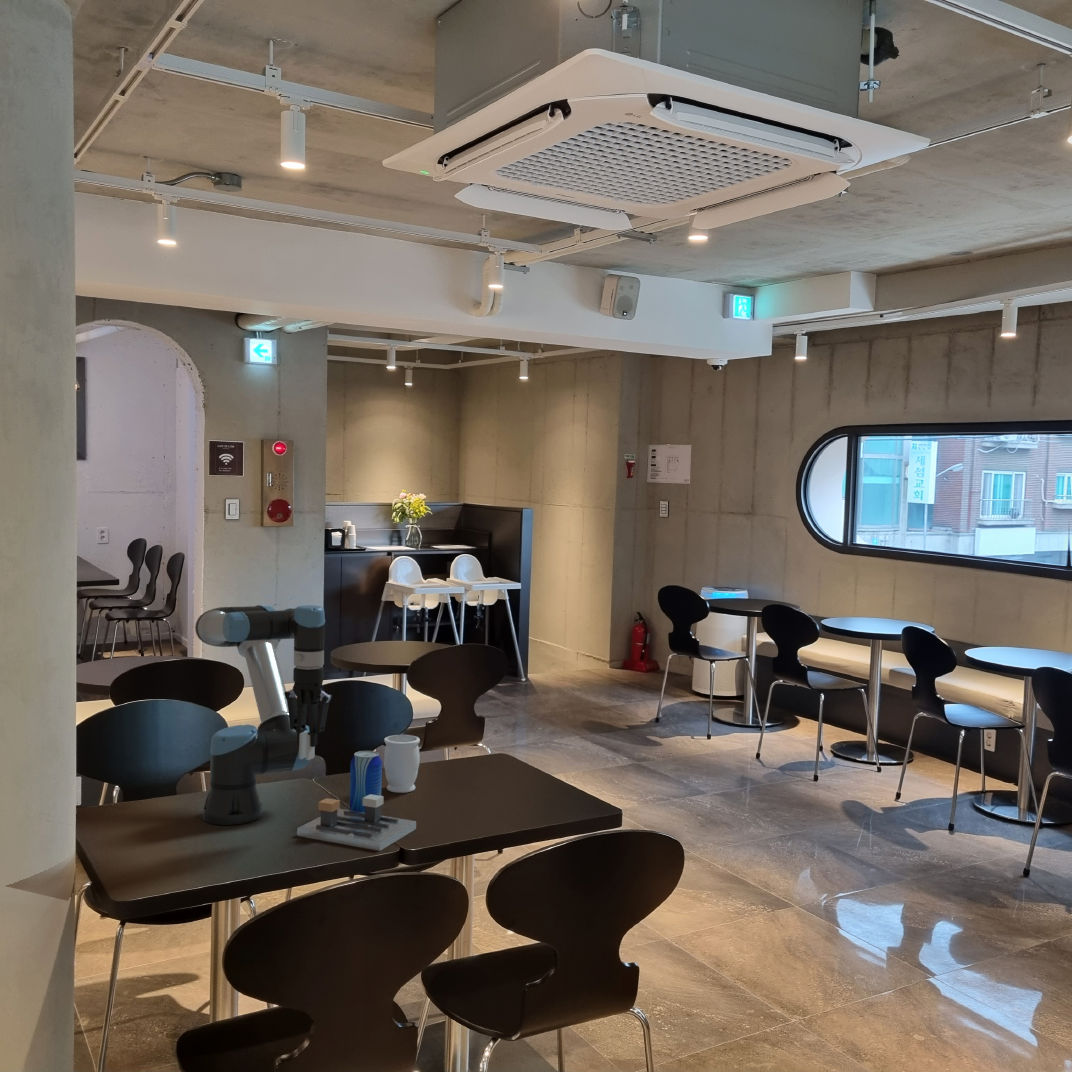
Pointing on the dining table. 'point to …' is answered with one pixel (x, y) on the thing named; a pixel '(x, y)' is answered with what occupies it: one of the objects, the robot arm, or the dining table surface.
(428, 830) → the dining table surface
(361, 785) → the beer can
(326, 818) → the fader
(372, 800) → the fader
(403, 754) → the jar
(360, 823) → the console
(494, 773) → the dining table surface
